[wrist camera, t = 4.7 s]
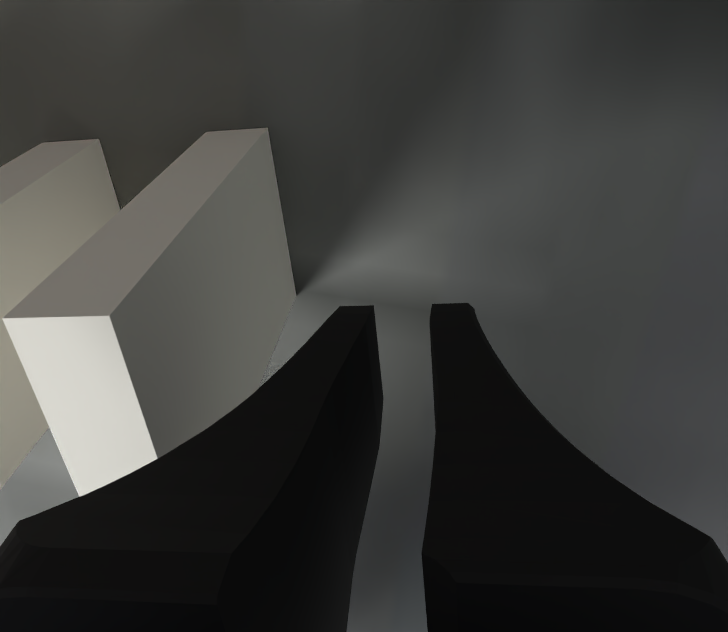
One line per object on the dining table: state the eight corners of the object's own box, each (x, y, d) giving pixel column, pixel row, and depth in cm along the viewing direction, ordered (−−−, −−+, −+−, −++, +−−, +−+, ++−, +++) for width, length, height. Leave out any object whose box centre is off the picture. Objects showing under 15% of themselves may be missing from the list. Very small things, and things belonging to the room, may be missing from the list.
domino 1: (98, 138, 17) (-178, 322, 10) (147, 300, 20) (-45, 547, 12) (42, 142, 18) (-271, 324, 10) (96, 301, 20) (-122, 544, 13)
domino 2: (267, 127, 17) (109, 316, 9) (296, 295, 19) (190, 554, 12) (206, 132, 17) (2, 318, 9) (242, 297, 19) (103, 552, 12)
